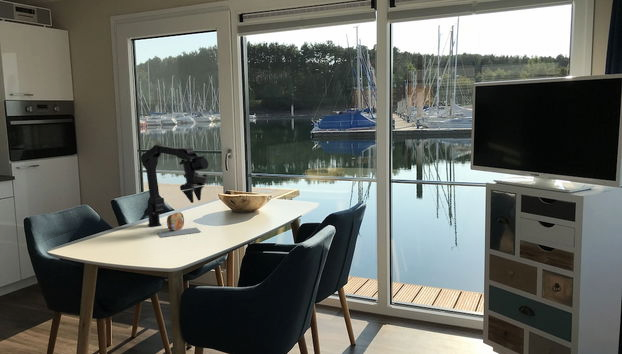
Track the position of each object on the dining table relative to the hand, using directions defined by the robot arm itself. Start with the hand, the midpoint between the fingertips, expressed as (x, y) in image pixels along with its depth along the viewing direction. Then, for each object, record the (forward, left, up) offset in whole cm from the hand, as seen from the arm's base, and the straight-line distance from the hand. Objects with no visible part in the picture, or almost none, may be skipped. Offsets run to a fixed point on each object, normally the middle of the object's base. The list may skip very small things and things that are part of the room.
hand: (196, 201), depth 276 cm
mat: (+3, -10, -15) cm, 18 cm away
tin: (-5, -10, -15) cm, 18 cm away
